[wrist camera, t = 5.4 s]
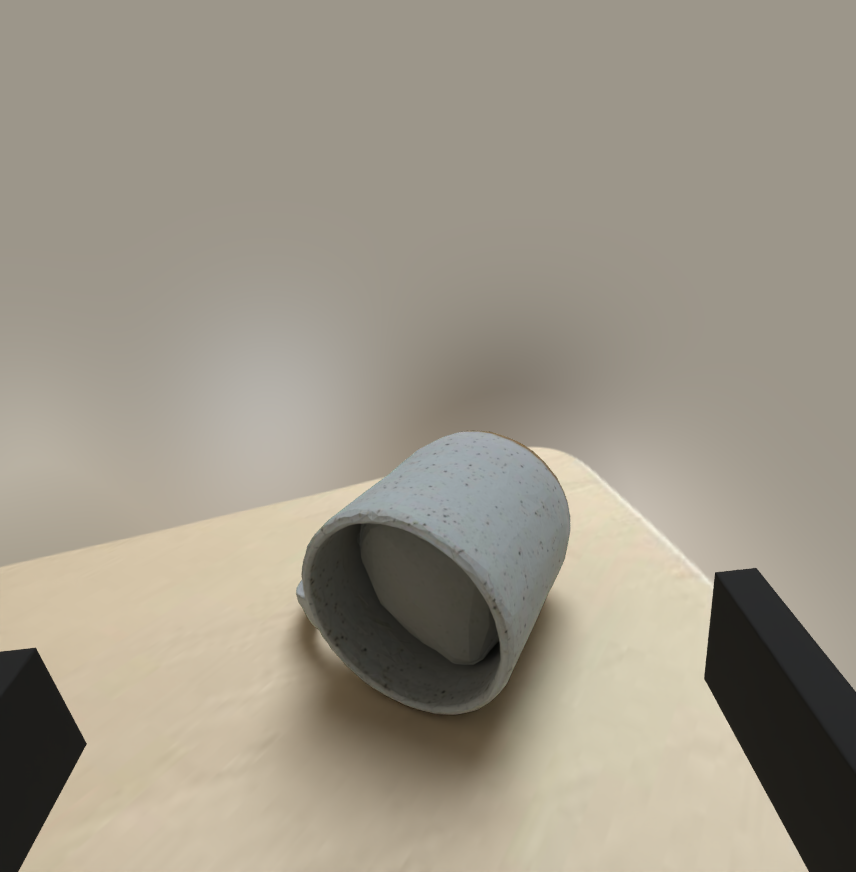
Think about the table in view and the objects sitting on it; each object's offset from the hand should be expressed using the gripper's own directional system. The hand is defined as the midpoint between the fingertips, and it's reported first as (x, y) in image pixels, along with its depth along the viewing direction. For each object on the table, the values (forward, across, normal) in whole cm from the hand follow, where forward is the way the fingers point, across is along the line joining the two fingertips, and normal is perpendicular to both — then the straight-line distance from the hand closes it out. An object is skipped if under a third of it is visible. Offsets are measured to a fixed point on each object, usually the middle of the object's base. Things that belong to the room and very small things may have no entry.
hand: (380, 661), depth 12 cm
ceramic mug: (+10, 0, -8) cm, 13 cm away
